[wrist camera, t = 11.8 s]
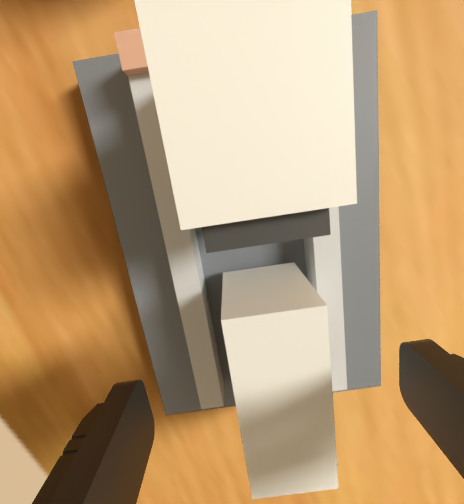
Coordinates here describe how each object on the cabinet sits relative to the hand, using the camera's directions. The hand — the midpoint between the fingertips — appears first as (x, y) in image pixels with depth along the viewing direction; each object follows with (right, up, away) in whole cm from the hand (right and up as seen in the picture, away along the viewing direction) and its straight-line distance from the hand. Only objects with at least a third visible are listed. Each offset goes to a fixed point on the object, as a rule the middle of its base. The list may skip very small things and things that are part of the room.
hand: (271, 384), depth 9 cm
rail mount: (0, +5, +5) cm, 7 cm away
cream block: (+1, -4, +3) cm, 5 cm away
